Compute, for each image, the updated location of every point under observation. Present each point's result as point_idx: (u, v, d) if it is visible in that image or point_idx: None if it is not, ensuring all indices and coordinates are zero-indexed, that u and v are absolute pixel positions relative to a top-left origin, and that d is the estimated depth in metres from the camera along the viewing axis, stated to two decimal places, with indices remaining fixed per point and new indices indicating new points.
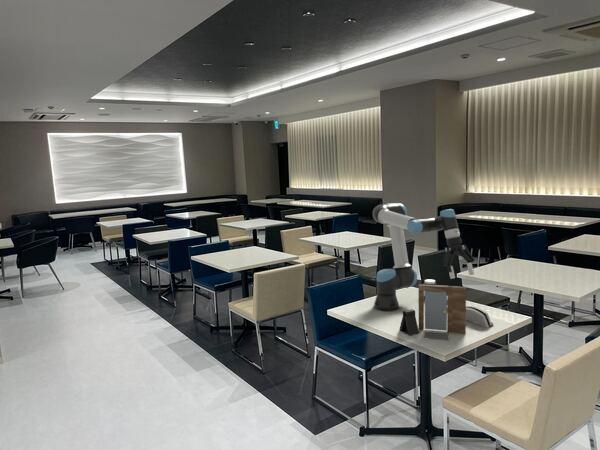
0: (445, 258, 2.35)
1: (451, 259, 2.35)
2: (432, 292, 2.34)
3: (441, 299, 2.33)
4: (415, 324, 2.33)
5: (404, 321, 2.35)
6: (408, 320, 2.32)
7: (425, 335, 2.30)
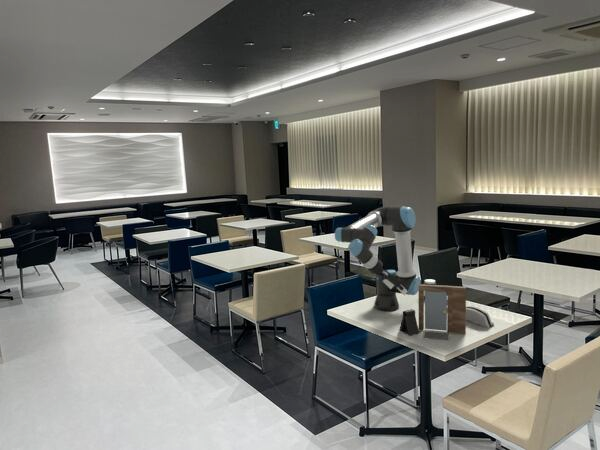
0: None
1: (379, 277, 2.33)
2: (432, 292, 2.34)
3: (441, 299, 2.33)
4: (415, 324, 2.33)
5: (404, 321, 2.35)
6: (408, 320, 2.32)
7: (425, 335, 2.30)
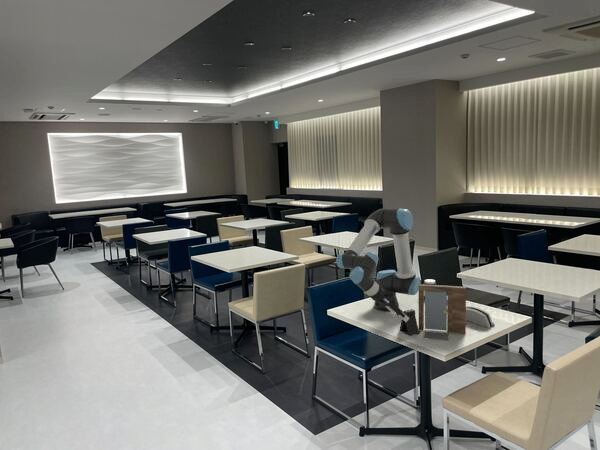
0: None
1: None
2: (432, 292, 2.34)
3: (441, 299, 2.33)
4: (415, 324, 2.33)
5: (404, 321, 2.35)
6: (408, 320, 2.32)
7: (425, 335, 2.30)
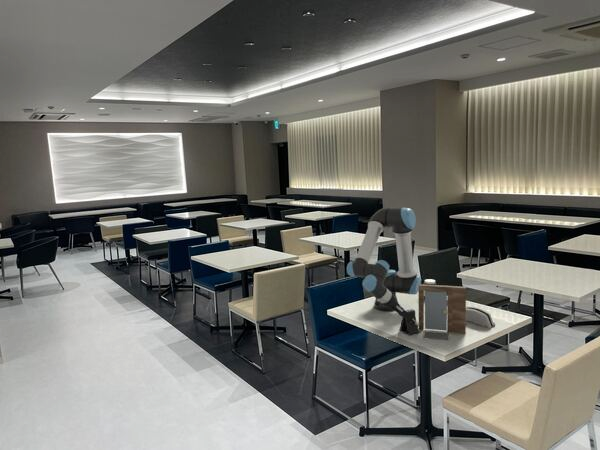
0: None
1: (399, 313, 2.36)
2: (432, 292, 2.34)
3: (441, 299, 2.33)
4: (415, 324, 2.33)
5: (404, 321, 2.35)
6: None
7: (425, 335, 2.30)
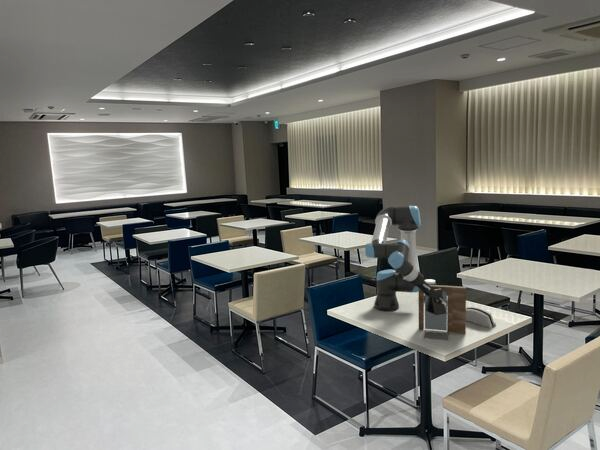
0: None
1: (425, 292, 2.28)
2: None
3: None
4: None
5: (430, 300, 2.27)
6: None
7: (425, 335, 2.30)
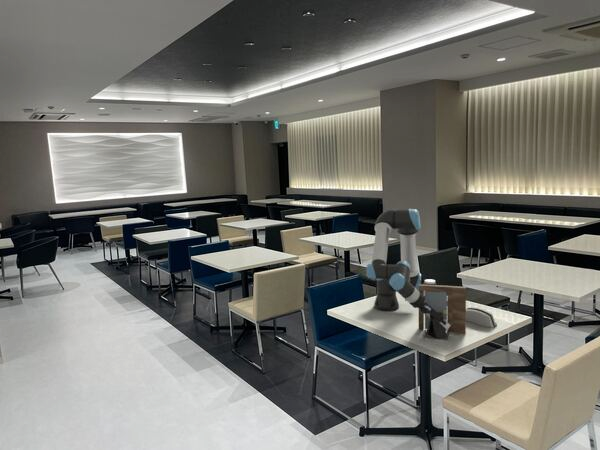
0: None
1: (422, 310, 2.31)
2: (432, 292, 2.34)
3: (441, 299, 2.33)
4: (443, 327, 2.27)
5: (431, 324, 2.29)
6: (435, 323, 2.26)
7: (425, 335, 2.30)
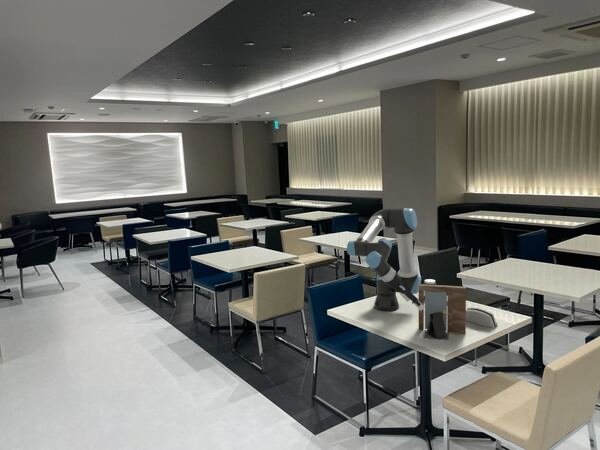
0: None
1: (397, 290, 2.28)
2: (432, 292, 2.34)
3: (441, 299, 2.33)
4: (443, 327, 2.27)
5: (431, 324, 2.29)
6: (435, 323, 2.26)
7: (425, 335, 2.30)
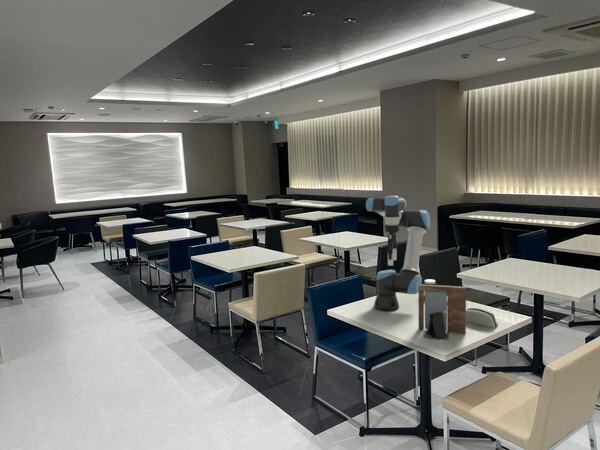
0: None
1: None
2: (432, 292, 2.34)
3: (441, 299, 2.33)
4: (443, 327, 2.27)
5: (431, 324, 2.29)
6: (435, 323, 2.26)
7: (425, 335, 2.30)
